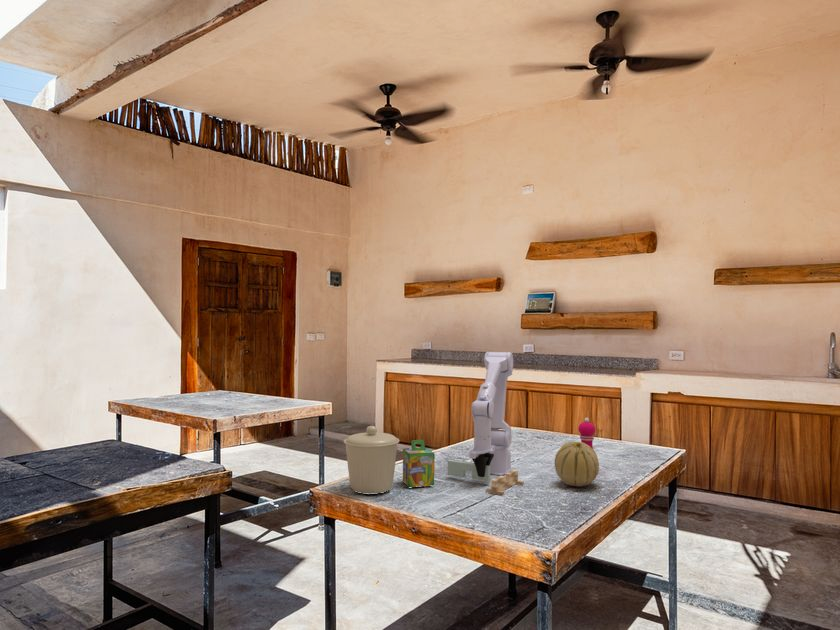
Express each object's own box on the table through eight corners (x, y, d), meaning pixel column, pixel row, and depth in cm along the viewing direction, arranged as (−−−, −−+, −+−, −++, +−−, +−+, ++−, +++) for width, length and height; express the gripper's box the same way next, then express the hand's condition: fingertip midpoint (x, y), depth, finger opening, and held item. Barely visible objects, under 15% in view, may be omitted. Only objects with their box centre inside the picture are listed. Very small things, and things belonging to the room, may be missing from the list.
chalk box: (408, 489, 188) (408, 444, 188) (401, 482, 196) (401, 438, 197) (435, 487, 190) (435, 442, 190) (427, 480, 199) (427, 437, 199)
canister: (399, 483, 195) (399, 421, 195) (399, 499, 177) (399, 430, 177) (346, 483, 194) (346, 421, 195) (340, 499, 176) (340, 431, 177)
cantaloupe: (581, 478, 202) (581, 435, 202) (609, 489, 188) (608, 443, 188) (545, 482, 196) (545, 438, 197) (571, 493, 183) (571, 446, 183)
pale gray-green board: (450, 473, 202) (450, 459, 202) (490, 480, 193) (490, 465, 193) (447, 474, 201) (447, 460, 201) (488, 481, 192) (487, 466, 192)
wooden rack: (507, 481, 197) (507, 468, 197) (523, 484, 193) (523, 471, 194) (485, 492, 184) (485, 478, 184) (502, 495, 180) (502, 481, 181)
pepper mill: (598, 475, 205) (598, 419, 205) (577, 474, 207) (577, 419, 207) (596, 470, 212) (596, 416, 213) (576, 469, 214) (575, 415, 214)
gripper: (482, 440, 186) (482, 482, 186) (503, 433, 198) (503, 473, 197) (463, 438, 190) (463, 479, 190) (485, 431, 202) (485, 470, 201)
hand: (482, 475), depth 194 cm, fingers closed on pale gray-green board, 2 cm apart
